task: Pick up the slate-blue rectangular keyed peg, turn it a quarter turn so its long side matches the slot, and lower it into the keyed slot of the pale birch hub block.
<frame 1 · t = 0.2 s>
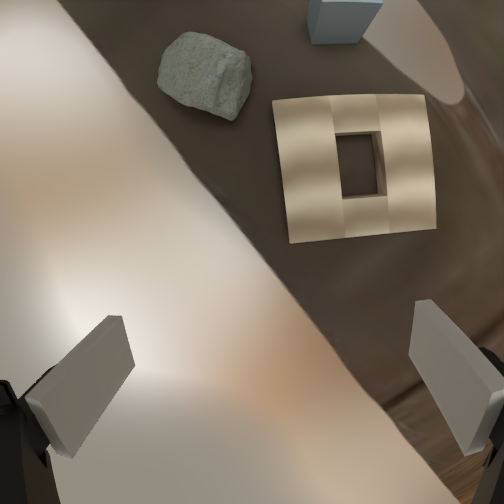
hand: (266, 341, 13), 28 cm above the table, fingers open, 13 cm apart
hub block: (354, 164, 37), on the table
decorative stone: (211, 79, 36), on the table
keyed peg: (331, 30, 33), on the table
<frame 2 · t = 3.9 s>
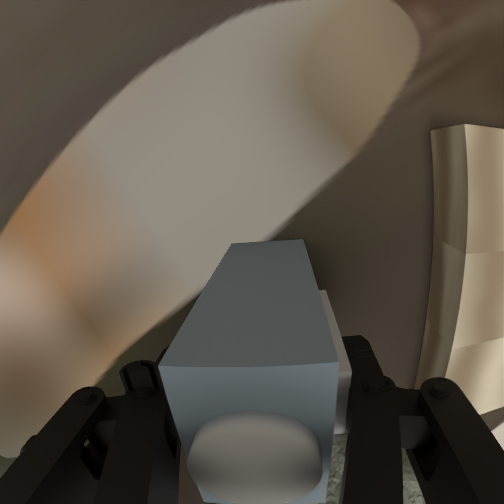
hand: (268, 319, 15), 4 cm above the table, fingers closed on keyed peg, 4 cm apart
decorative stone: (340, 457, 23), on the table
keyed peg: (270, 291, 19), on the table, touching gripper
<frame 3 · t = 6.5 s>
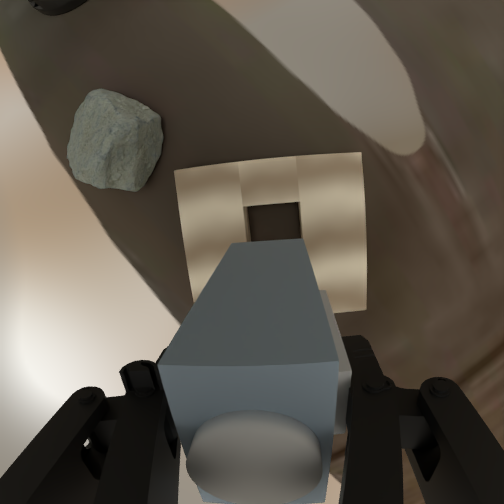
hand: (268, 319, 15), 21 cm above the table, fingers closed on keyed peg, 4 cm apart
hub block: (275, 233, 35), on the table
decorative stone: (125, 137, 34), on the table
keyed peg: (271, 291, 19), point 17 cm above the table, touching gripper
when the fingers open (6 cm above the table, at t = 9.3 s): keyed peg drops 2 cm, resting in hub block.
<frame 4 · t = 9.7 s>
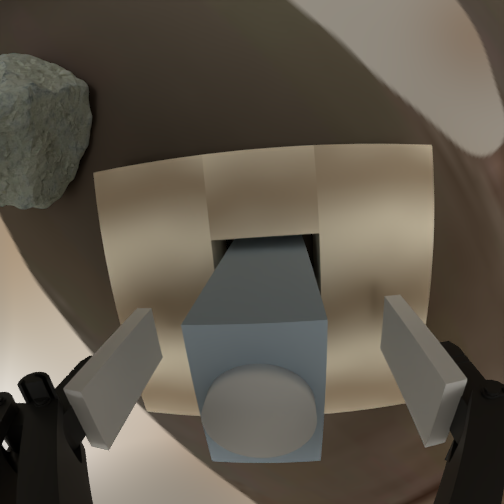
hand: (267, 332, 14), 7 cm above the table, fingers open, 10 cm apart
hub block: (271, 280, 21), on the table
decorative stone: (46, 123, 20), on the table
keyed peg: (271, 279, 21), resting in hub block
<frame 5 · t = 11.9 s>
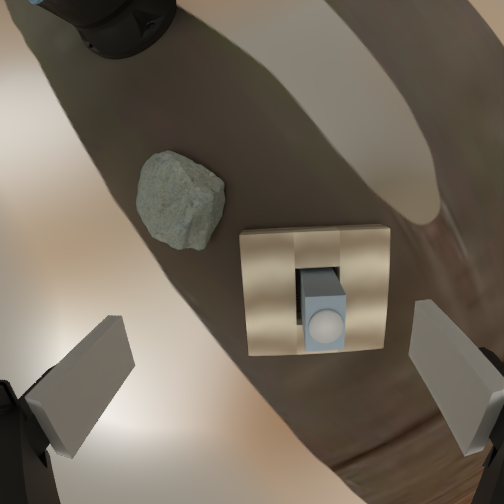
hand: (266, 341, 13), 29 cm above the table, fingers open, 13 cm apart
hub block: (315, 286, 43), on the table
decorative stone: (187, 195, 42), on the table
keyed peg: (314, 286, 43), resting in hub block
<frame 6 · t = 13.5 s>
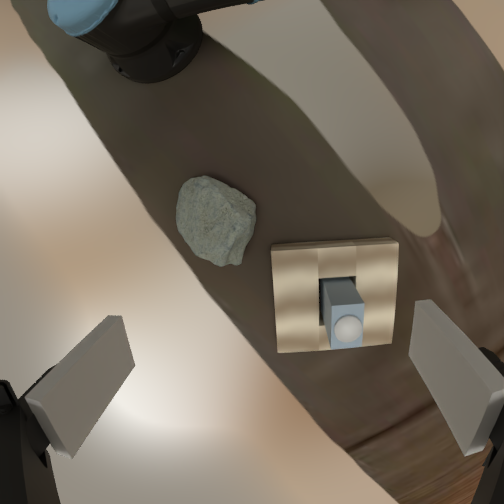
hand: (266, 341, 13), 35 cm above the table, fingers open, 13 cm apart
hub block: (333, 291, 49), on the table
decorative stone: (221, 213, 48), on the table
keyed peg: (333, 291, 49), resting in hub block
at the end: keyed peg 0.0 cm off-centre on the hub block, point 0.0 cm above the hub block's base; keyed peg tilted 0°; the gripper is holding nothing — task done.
